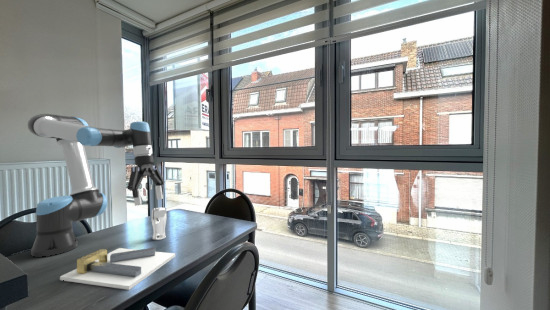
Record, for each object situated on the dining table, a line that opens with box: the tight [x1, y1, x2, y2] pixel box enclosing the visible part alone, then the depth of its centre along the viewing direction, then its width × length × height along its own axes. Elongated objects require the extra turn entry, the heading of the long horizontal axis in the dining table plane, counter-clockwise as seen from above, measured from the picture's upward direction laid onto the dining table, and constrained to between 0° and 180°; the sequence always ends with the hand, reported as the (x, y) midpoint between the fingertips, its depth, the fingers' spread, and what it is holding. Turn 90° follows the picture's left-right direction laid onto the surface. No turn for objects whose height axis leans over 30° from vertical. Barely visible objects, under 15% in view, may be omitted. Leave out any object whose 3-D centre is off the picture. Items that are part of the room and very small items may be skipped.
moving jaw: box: [110, 246, 156, 263], centre depth 94 cm, size 16×2×2 cm, turn 114°
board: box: [59, 247, 176, 291], centre depth 89 cm, size 28×24×1 cm
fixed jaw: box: [87, 261, 141, 277], centre depth 83 cm, size 24×2×2 cm, turn 79°
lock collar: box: [76, 248, 108, 274], centre depth 86 cm, size 3×9×5 cm, turn 169°
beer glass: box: [151, 206, 168, 241], centre depth 118 cm, size 7×7×15 cm
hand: (149, 202), depth 104 cm, fingers open, 13 cm apart
